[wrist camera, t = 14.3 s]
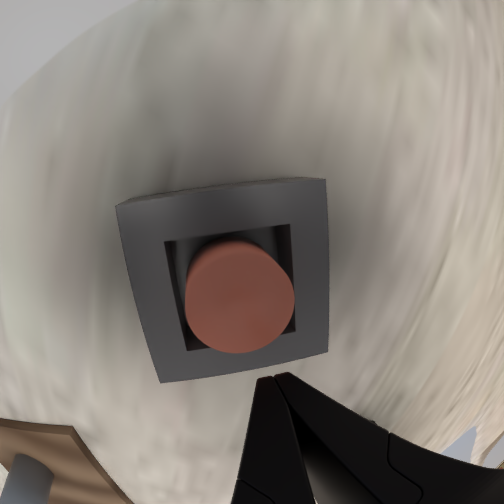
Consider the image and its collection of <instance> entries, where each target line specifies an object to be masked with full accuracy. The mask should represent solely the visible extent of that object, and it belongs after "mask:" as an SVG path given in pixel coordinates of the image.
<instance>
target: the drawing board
mask: <svg viewBox="0 0 504 504" xmlns="http://www.w3.org/2000/svg"><path fill="white" fill-rule="evenodd" d="M16 454H25V455H28V456H30V457H32V458H34V459H36V460H38V461H40V462H41V463H43V464H44V465H45V466H47V467H48V468H49V469H50V470H51V472H52V473H53V475H54V478H53V482H52V486H51V491H50V495H49V500H48V504H133V502H132V501H131V500H130V499H129V498H128V497H127V496H126V495H125V494H124V493H123V492H122V491H121V489H120V488H119V487H118V486H117V485H116V484H115V483H114V481H113V480H112V479H111V478H110V477H109V475H108V474H107V473H106V472H105V470H104V469H103V468H102V467H101V465H100V464H99V463H98V462H97V460H96V459H95V458H94V456H93V455H92V454H91V452H90V451H89V450H88V448H87V447H86V445H85V444H84V443H83V441H82V440H81V438H80V437H79V435H78V434H77V432H76V431H75V429H74V428H73V426H58V425H45V424H35V423H27V422H19V421H12V420H6V419H0V463H1V464H2V465H3V466H4V467H5V468H6V470H7V471H8V472H9V470H10V468H11V465H12V462H13V460H14V457H15V455H16Z"/></svg>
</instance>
